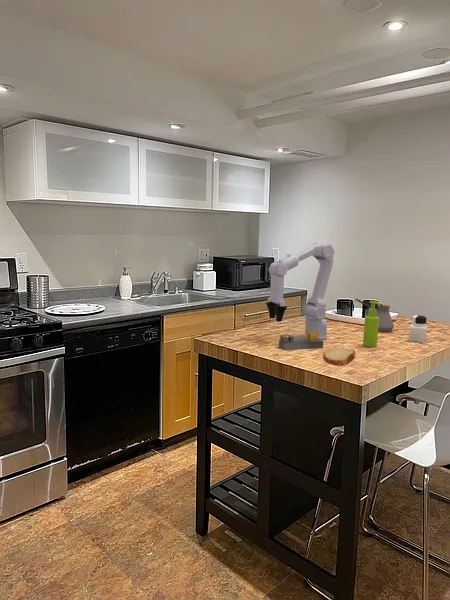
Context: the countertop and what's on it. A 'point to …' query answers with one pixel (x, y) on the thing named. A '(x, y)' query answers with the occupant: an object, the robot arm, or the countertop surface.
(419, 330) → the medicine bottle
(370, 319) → the soap dispenser
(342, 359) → the bread slice
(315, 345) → the grey piece
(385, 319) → the coffee pot
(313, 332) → the brushed gold cube
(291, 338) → the steel lever
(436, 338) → the countertop surface
